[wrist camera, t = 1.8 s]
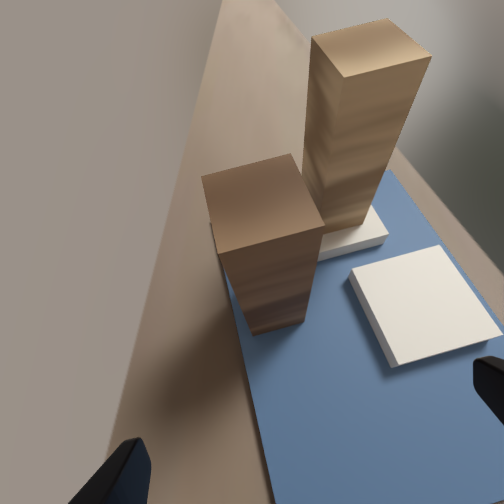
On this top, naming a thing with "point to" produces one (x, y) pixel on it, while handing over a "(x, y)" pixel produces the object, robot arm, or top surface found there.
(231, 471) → the top surface
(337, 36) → the oak pillar
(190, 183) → the top surface
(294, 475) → the mat
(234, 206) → the walnut pillar
